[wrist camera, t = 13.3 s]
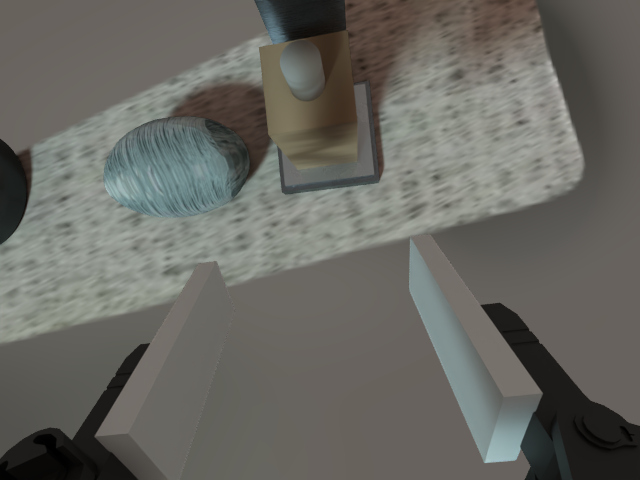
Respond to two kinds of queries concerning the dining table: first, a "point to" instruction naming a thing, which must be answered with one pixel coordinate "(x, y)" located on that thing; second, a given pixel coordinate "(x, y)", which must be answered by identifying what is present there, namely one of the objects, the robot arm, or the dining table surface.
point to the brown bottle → (311, 99)
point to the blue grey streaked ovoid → (177, 167)
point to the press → (328, 17)
